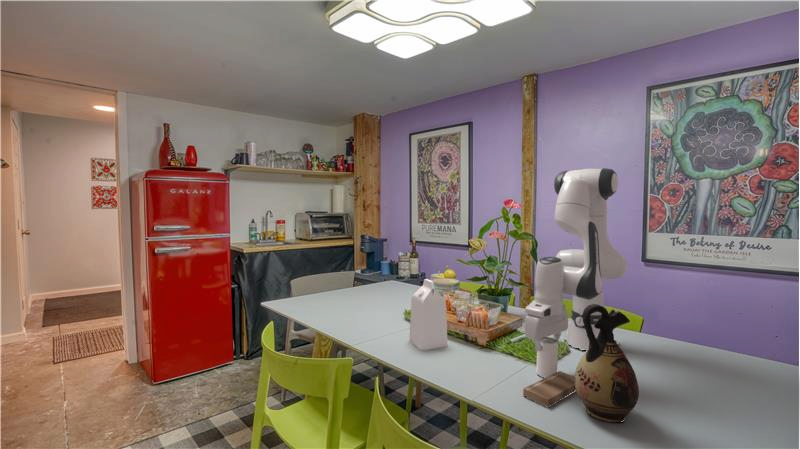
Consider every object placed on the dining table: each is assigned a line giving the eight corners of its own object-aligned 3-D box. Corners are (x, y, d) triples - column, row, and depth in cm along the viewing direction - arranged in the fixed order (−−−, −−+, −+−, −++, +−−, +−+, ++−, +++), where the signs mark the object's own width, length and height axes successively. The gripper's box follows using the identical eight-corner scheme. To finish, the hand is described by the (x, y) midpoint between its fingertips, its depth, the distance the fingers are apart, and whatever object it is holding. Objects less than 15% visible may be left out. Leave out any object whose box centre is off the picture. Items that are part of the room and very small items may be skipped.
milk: (447, 346, 152) (448, 282, 150) (421, 350, 147) (422, 284, 146) (433, 336, 163) (434, 276, 161) (409, 340, 159) (409, 278, 157)
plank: (559, 378, 125) (559, 370, 125) (583, 387, 118) (584, 379, 118) (523, 396, 113) (523, 388, 113) (547, 408, 106) (548, 399, 106)
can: (551, 370, 130) (553, 336, 130) (560, 379, 124) (561, 343, 123) (533, 370, 130) (534, 336, 129) (541, 379, 124) (542, 343, 123)
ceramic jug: (614, 398, 112) (619, 298, 110) (651, 429, 97) (656, 313, 95) (558, 398, 111) (561, 298, 110) (585, 430, 96) (589, 313, 94)
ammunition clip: (463, 341, 158) (464, 313, 157) (465, 340, 159) (466, 312, 158) (488, 347, 151) (488, 317, 151) (490, 345, 153) (490, 316, 152)
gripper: (556, 300, 134) (555, 339, 135) (521, 308, 122) (520, 351, 123) (573, 304, 129) (572, 344, 130) (539, 313, 117) (538, 357, 117)
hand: (547, 347), depth 126 cm, fingers open, 8 cm apart
